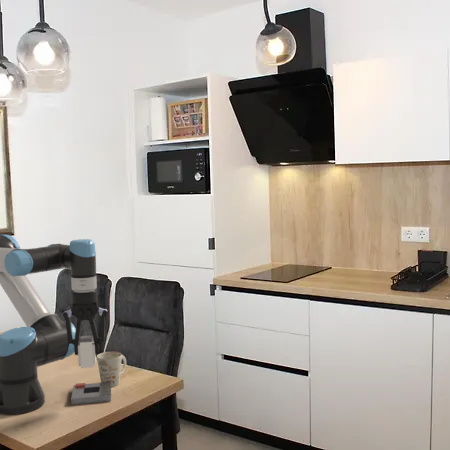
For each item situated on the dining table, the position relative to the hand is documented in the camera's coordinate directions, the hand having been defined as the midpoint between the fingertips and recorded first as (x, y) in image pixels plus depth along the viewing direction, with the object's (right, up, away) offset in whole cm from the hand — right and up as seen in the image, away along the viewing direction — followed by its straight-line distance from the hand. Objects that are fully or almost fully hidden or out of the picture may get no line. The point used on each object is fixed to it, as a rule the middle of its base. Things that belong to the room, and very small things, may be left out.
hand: (87, 364), depth 180 cm
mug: (+5, -11, +20) cm, 23 cm away
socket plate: (0, -12, +7) cm, 14 cm away
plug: (0, 0, 0) cm, 0 cm away
